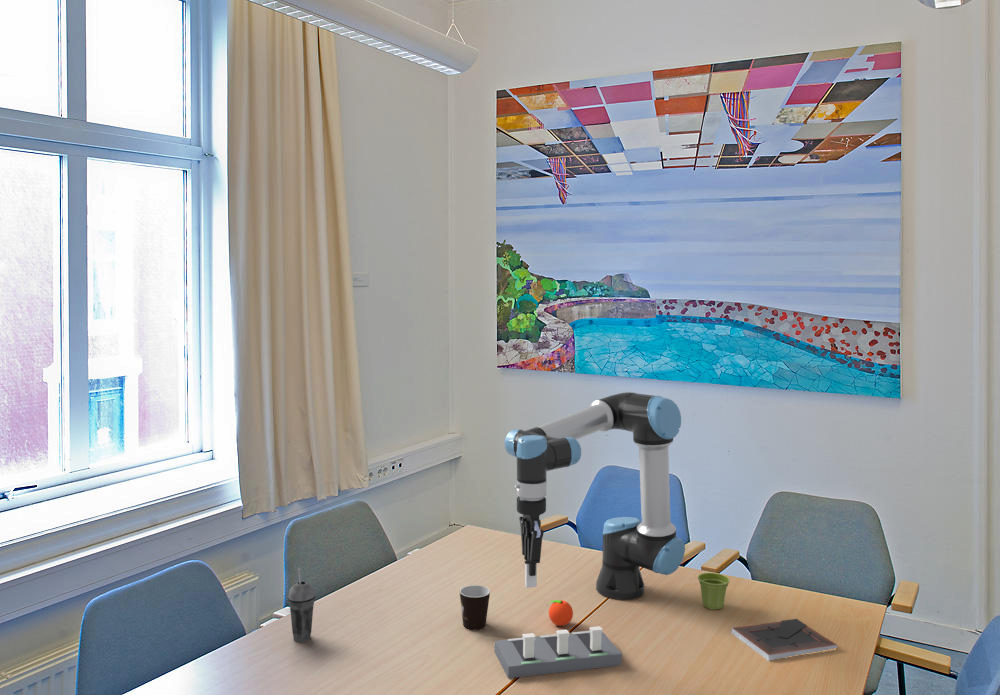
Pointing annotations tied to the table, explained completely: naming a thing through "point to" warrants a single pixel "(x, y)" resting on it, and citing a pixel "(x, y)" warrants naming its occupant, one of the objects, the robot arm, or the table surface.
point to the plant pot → (713, 589)
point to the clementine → (560, 612)
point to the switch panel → (555, 655)
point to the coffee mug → (474, 606)
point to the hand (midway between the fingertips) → (530, 586)
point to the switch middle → (562, 641)
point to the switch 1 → (528, 645)
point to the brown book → (782, 639)
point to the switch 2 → (595, 638)
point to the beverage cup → (301, 609)
